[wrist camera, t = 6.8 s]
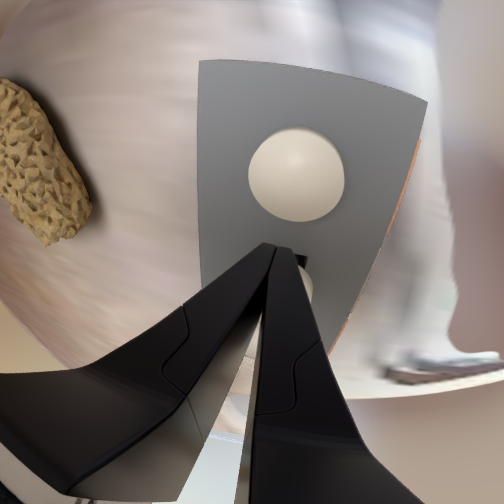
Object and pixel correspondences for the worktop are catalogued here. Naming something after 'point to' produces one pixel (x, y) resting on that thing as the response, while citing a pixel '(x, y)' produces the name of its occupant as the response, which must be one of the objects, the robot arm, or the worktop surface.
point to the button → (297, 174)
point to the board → (354, 165)
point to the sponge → (38, 170)
